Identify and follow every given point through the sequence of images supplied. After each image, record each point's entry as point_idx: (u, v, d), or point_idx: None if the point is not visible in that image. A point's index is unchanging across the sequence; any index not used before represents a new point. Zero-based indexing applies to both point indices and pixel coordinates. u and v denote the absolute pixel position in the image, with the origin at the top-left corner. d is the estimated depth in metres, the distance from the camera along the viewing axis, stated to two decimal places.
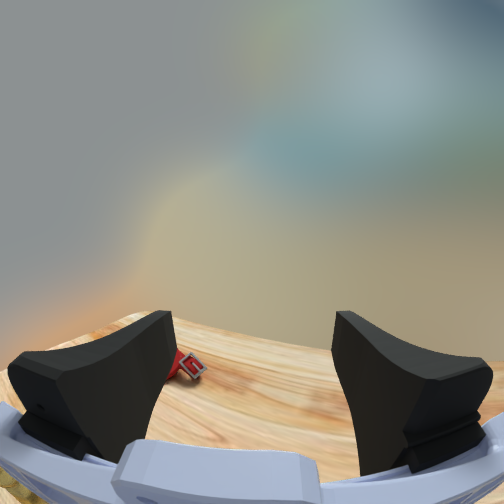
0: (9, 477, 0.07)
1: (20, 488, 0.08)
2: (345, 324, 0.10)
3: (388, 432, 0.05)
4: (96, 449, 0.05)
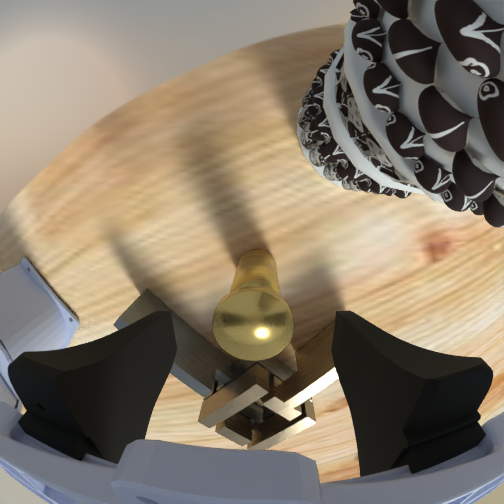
0: (229, 342, 0.12)
1: None
2: (345, 324, 0.10)
3: (388, 432, 0.05)
4: (96, 449, 0.05)
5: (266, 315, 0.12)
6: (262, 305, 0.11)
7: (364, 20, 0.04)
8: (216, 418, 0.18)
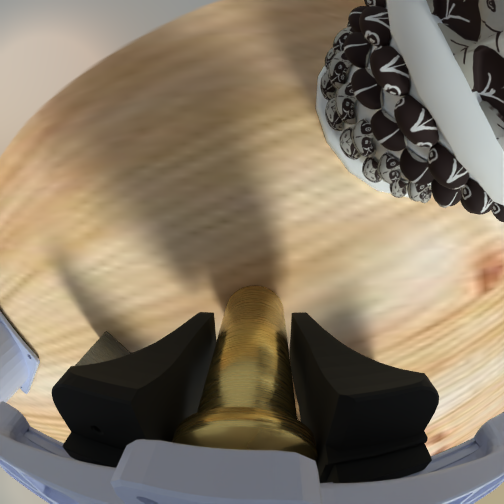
0: None
1: None
2: (296, 326, 0.10)
3: (317, 443, 0.05)
4: None
5: None
6: (260, 444, 0.05)
7: None
8: None
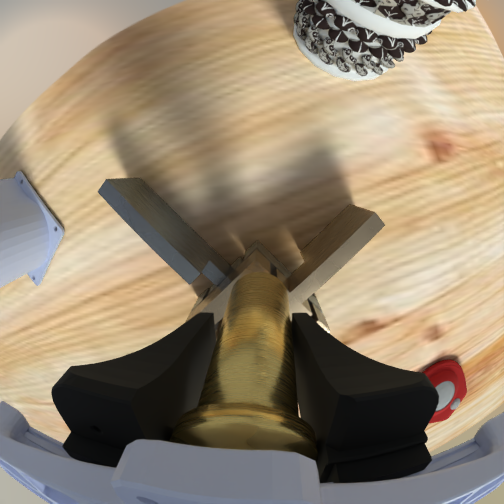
0: None
1: None
2: (296, 326, 0.10)
3: (318, 443, 0.05)
4: None
5: None
6: (260, 441, 0.05)
7: None
8: None
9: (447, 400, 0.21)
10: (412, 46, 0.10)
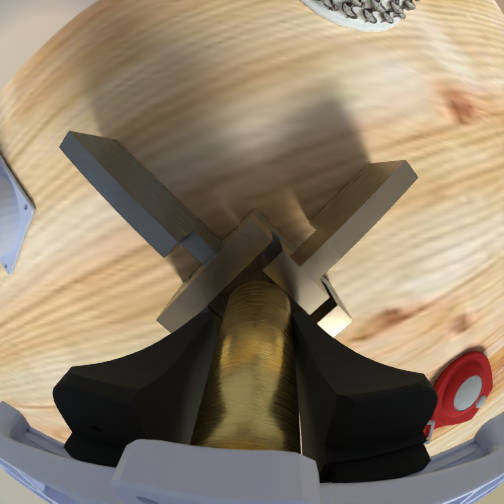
0: None
1: None
2: (295, 326, 0.10)
3: (316, 444, 0.05)
4: None
5: None
6: None
7: None
8: (185, 310, 0.12)
9: (474, 397, 0.16)
10: None
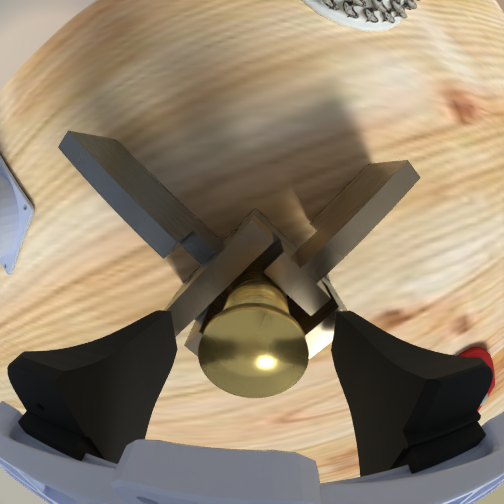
0: (222, 376, 0.09)
1: None
2: (345, 324, 0.10)
3: (388, 432, 0.05)
4: (96, 449, 0.05)
5: (272, 343, 0.08)
6: (266, 329, 0.08)
7: None
8: (185, 312, 0.12)
9: None
10: None
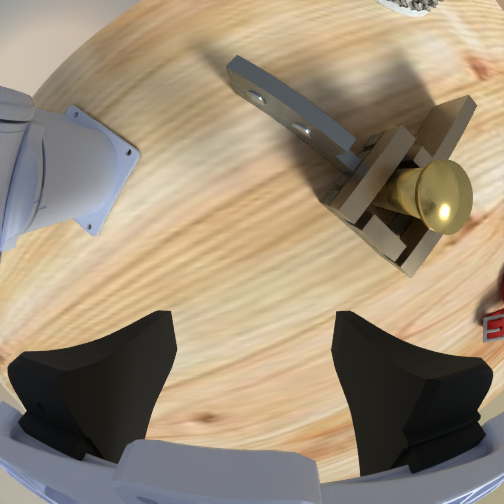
0: (434, 214, 0.10)
1: (416, 212, 0.12)
2: (345, 324, 0.10)
3: (388, 432, 0.05)
4: (96, 449, 0.05)
5: (457, 183, 0.10)
6: (453, 173, 0.10)
7: None
8: (364, 196, 0.14)
9: None
10: None
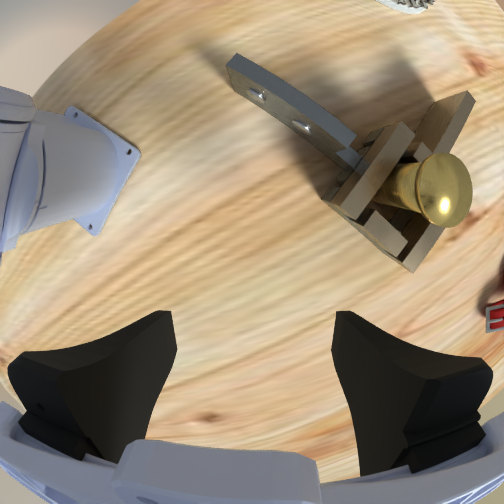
0: (434, 207, 0.10)
1: (416, 205, 0.12)
2: (345, 324, 0.10)
3: (388, 432, 0.05)
4: (96, 449, 0.05)
5: (456, 176, 0.10)
6: (452, 166, 0.10)
7: None
8: (365, 192, 0.14)
9: None
10: None
